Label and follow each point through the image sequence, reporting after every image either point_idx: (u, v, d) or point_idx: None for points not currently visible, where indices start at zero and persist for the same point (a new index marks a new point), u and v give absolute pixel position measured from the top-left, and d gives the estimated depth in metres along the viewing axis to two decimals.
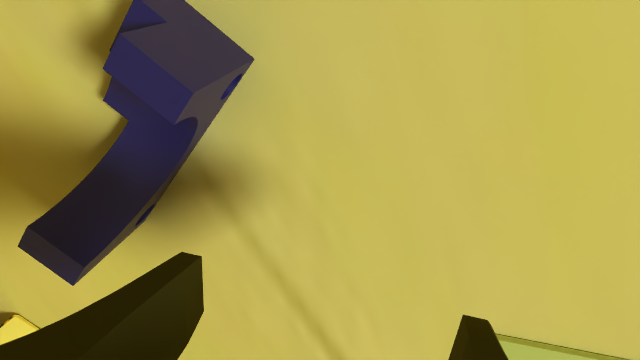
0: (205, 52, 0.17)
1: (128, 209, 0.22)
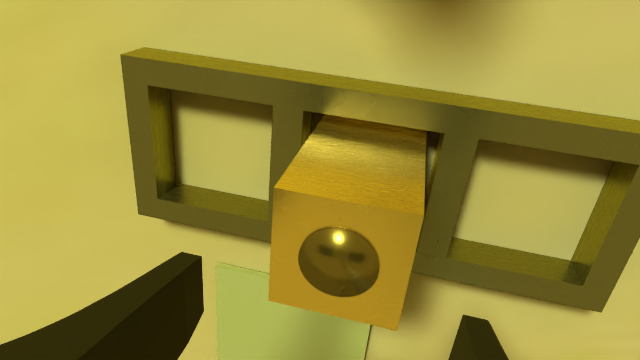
0: None
1: None
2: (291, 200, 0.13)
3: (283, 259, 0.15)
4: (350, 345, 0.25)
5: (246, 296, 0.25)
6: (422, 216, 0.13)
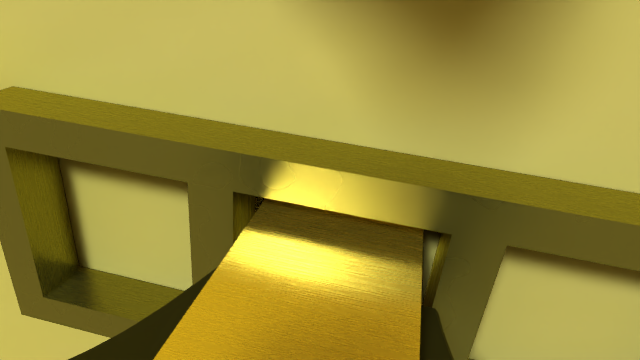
0: None
1: None
2: None
3: None
4: None
5: None
6: None
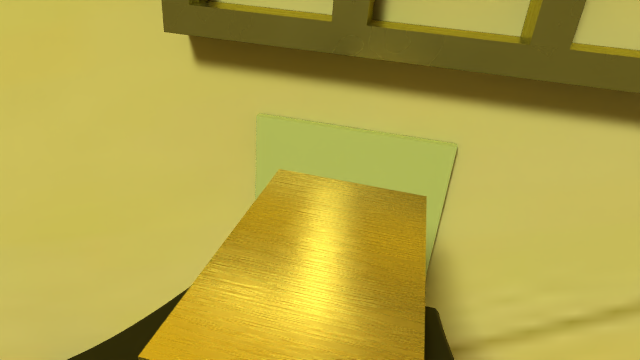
0: None
1: None
2: None
3: None
4: None
5: (293, 155, 0.21)
6: None
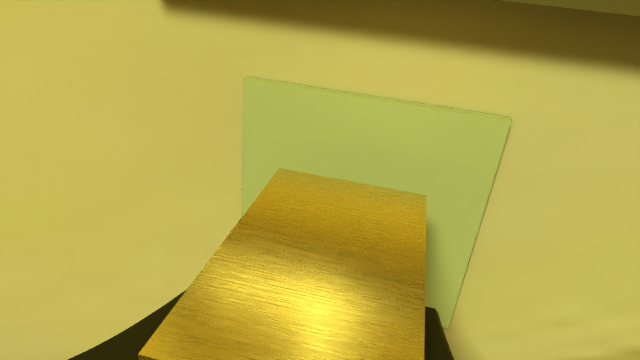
0: None
1: None
2: None
3: None
4: (457, 208, 0.16)
5: (291, 132, 0.16)
6: None
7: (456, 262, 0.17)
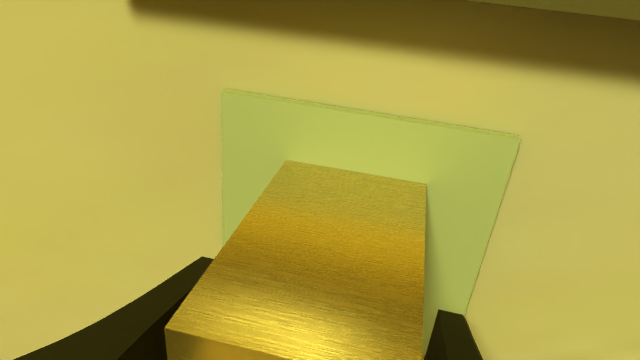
0: None
1: None
2: (195, 348, 0.08)
3: None
4: (459, 234, 0.14)
5: (275, 150, 0.14)
6: None
7: (458, 293, 0.15)
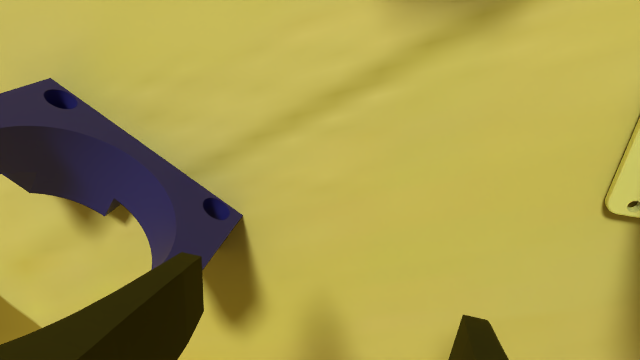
0: None
1: (170, 216, 0.21)
2: None
3: None
4: None
5: None
6: None
7: None
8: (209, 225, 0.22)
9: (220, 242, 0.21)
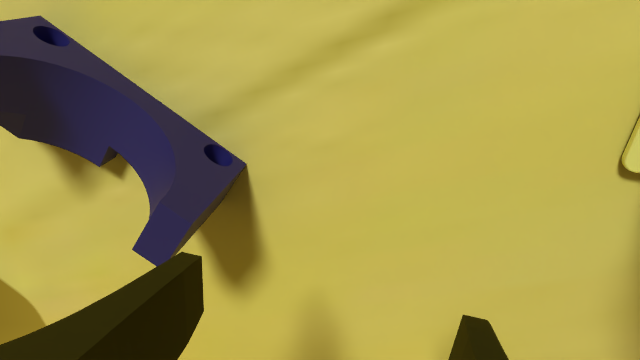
0: None
1: (169, 159, 0.20)
2: None
3: None
4: None
5: None
6: None
7: None
8: (211, 169, 0.20)
9: (223, 187, 0.20)
